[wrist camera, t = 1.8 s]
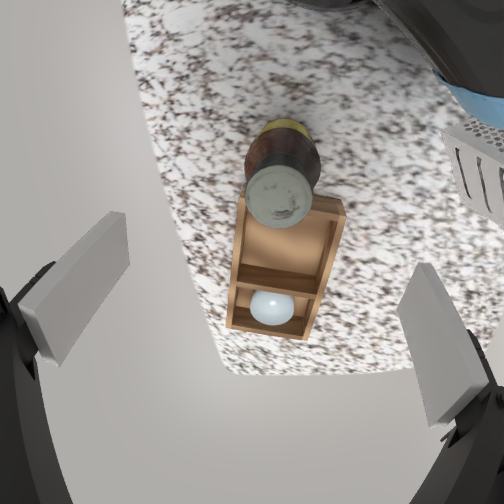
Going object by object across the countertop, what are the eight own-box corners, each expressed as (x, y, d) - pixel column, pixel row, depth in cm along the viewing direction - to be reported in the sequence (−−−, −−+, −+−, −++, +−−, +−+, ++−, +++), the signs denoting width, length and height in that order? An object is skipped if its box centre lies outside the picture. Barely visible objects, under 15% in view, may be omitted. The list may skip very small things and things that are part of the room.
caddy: (245, 182, 38) (239, 197, 34) (340, 199, 38) (346, 216, 34) (231, 305, 49) (225, 327, 45) (306, 317, 48) (307, 340, 44)
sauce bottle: (302, 174, 37) (308, 266, 20) (252, 158, 37) (213, 238, 20) (319, 124, 33) (348, 173, 17) (267, 107, 33) (239, 138, 16)
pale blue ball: (255, 273, 44) (252, 289, 41) (298, 280, 44) (297, 296, 41) (250, 305, 47) (247, 321, 44) (289, 312, 47) (289, 328, 44)
